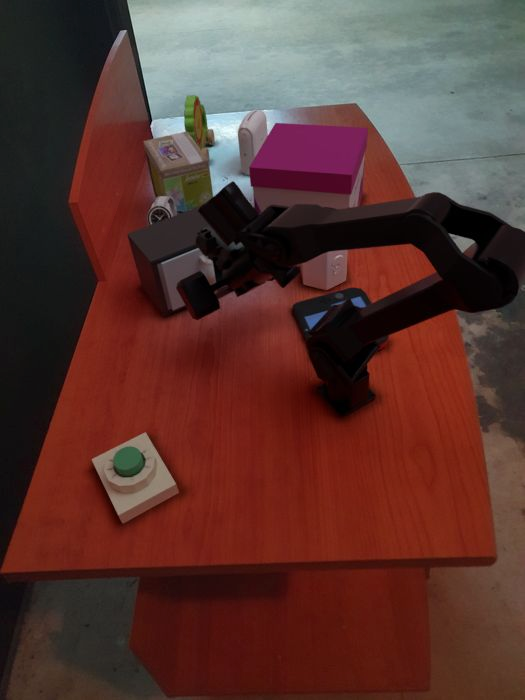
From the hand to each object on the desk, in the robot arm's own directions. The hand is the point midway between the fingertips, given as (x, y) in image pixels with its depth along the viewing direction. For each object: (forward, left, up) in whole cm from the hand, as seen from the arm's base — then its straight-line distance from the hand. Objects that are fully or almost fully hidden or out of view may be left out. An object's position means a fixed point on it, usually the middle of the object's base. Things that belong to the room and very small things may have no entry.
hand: (222, 287), depth 93 cm
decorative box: (+18, -30, -7) cm, 36 cm away
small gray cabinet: (+12, 0, -7) cm, 14 cm away
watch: (+25, -1, -7) cm, 26 cm away
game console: (-13, -14, -7) cm, 21 cm away
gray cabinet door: (+5, +3, -6) cm, 8 cm away
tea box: (+35, -9, -7) cm, 37 cm away
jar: (0, -20, -7) cm, 21 cm away
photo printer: (+44, -32, -7) cm, 55 cm away
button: (-21, +26, -3) cm, 34 cm away
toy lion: (+57, -24, -7) cm, 62 cm away
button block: (-21, +26, -7) cm, 34 cm away
